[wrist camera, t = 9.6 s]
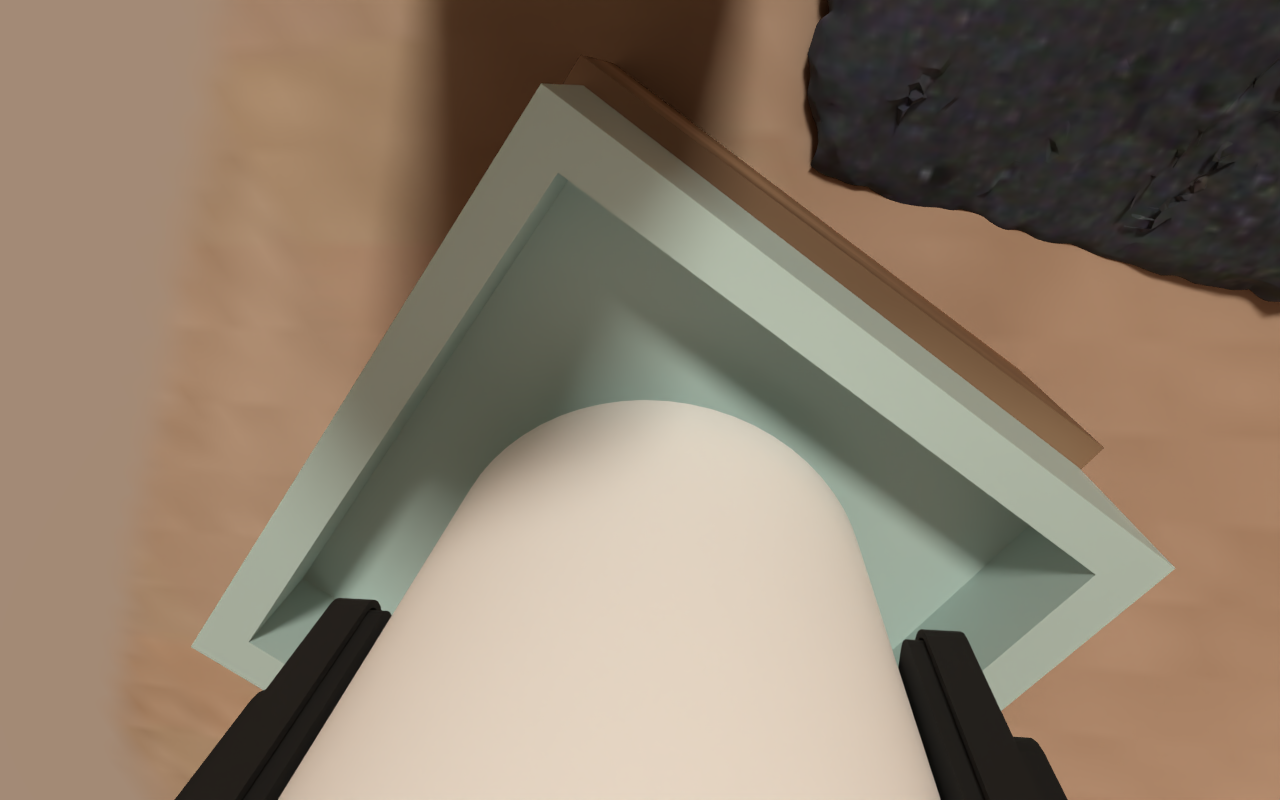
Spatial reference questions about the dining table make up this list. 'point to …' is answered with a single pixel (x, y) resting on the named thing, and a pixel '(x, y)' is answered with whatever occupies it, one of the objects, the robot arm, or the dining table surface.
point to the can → (632, 633)
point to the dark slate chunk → (1068, 122)
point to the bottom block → (839, 259)
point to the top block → (685, 373)
